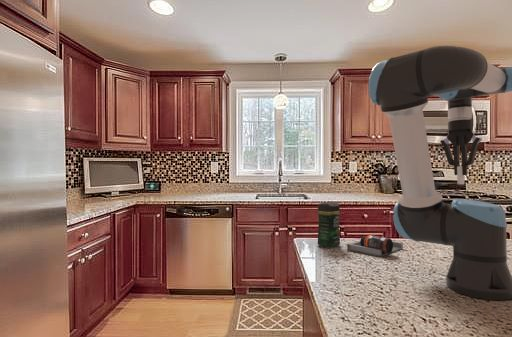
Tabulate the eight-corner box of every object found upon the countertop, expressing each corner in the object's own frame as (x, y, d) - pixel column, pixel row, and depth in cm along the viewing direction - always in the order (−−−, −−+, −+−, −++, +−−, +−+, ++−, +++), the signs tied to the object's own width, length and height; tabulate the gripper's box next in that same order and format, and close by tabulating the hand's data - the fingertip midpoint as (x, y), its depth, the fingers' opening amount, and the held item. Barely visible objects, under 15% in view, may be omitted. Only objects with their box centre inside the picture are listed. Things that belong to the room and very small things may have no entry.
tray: (380, 257, 117) (380, 250, 117) (347, 250, 128) (347, 244, 128) (402, 248, 129) (402, 242, 129) (370, 243, 140) (370, 237, 140)
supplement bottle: (388, 235, 118) (361, 230, 127) (384, 249, 116) (356, 244, 125) (395, 243, 121) (368, 238, 130) (390, 257, 119) (363, 251, 128)
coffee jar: (331, 249, 129) (330, 203, 130) (314, 246, 135) (314, 202, 135) (343, 245, 136) (342, 201, 136) (327, 242, 142) (326, 200, 142)
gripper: (483, 119, 115) (485, 184, 115) (444, 123, 125) (445, 183, 125) (477, 116, 111) (478, 185, 110) (436, 121, 120) (437, 184, 120)
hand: (460, 184), depth 118 cm, fingers closed
